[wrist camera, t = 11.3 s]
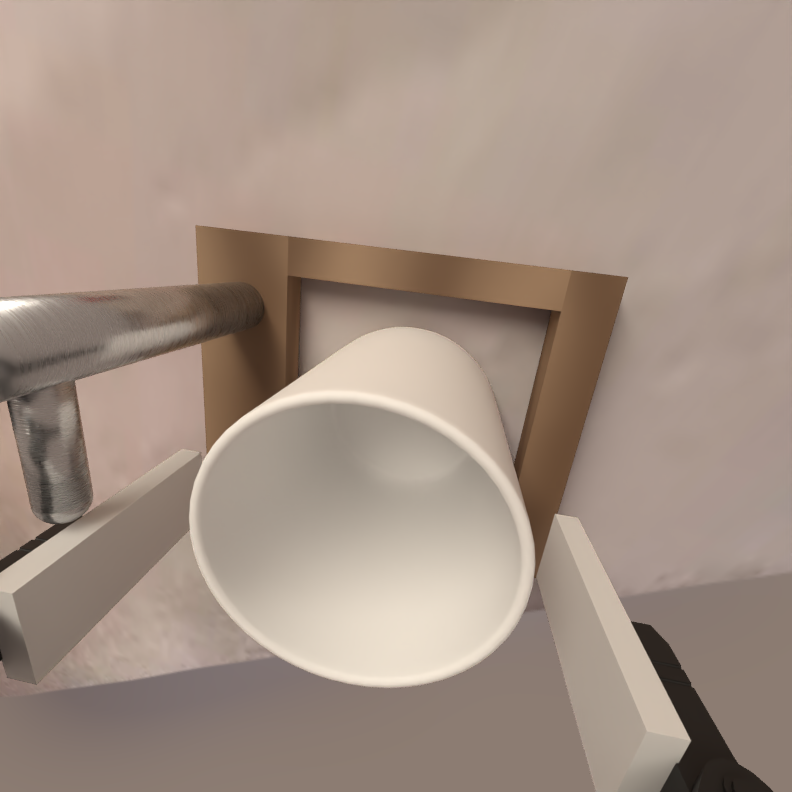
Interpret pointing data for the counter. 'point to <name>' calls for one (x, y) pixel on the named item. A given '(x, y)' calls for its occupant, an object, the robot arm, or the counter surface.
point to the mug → (370, 516)
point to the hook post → (94, 367)
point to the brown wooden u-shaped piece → (424, 273)
